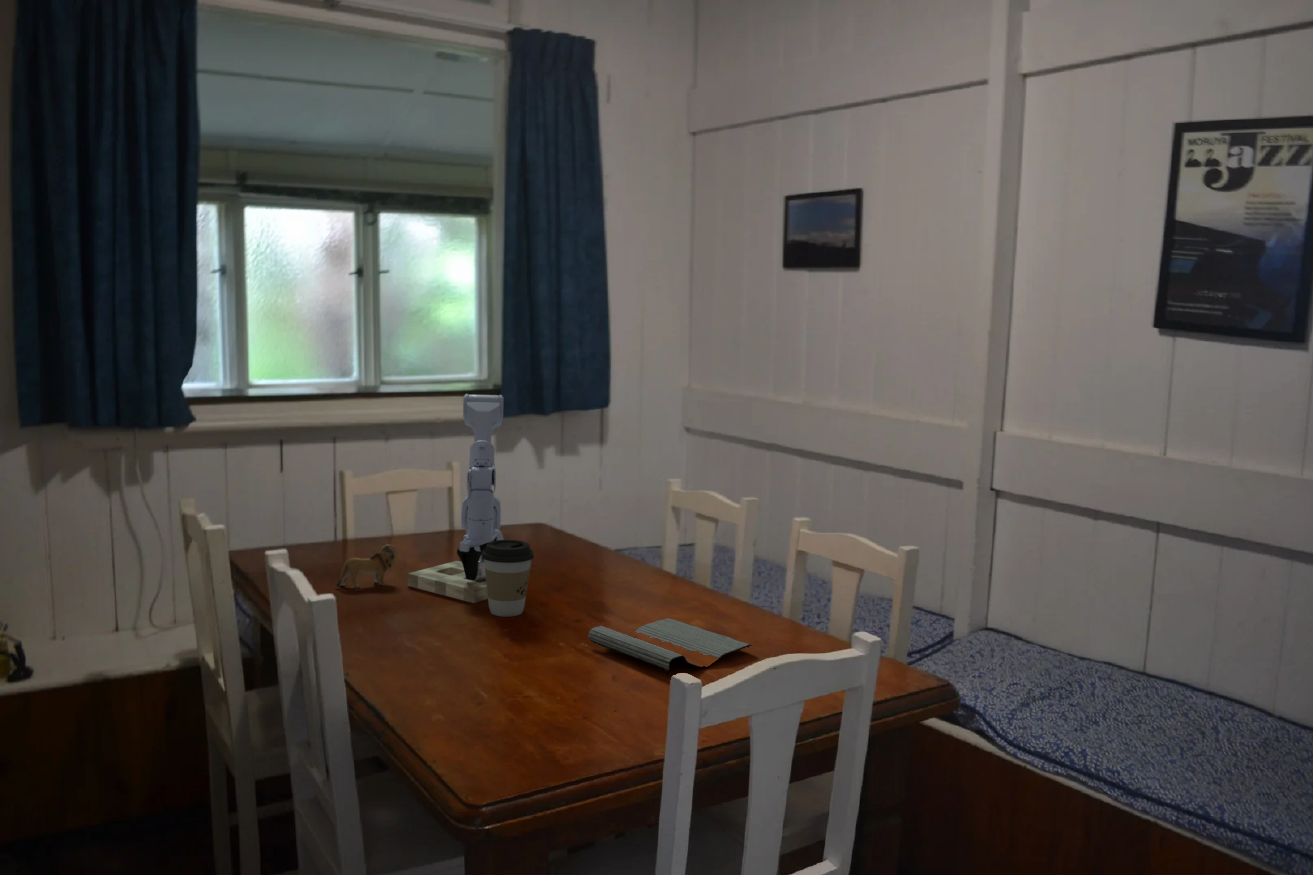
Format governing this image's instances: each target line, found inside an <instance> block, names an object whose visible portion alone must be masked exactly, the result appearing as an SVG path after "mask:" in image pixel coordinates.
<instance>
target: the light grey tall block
mask: <svg viewBox="0 0 1313 875" xmlns="http://www.w3.org/2000/svg"><path fill="white" fill-rule="evenodd" d="M471 581H475V582H479V583H481V582H484V581H486V574H485V565H484V559H479V562H478V567H477V575H476V579H475V580H471Z"/></svg>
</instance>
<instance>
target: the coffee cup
mask: <svg viewBox="0 0 1313 875" xmlns="http://www.w3.org/2000/svg"><path fill="white" fill-rule="evenodd" d="M481 557H482V558H483V559H484V565H485V574H486V584H487V593H488V599H487V601H488V602H487V603H488V608H489V612H490V614H491V615H493V616H496V617H497V616H498V617H503V618H504V617H505V618H507V617H509V618H510V617H516V616H517V617H518V616H520V615H522V614H523V613H524V609H525V604H526V598H527V592H528V584H529V579H530V578H529V577H530V573H531V572H530V571H531V566H532V560H533V559H534V558H535V555H534V551H533V549H531V546H530V543H528V542H527V541H523V540H519V539H518V540H517V539H504V540H496V541H492V542H489V543H488V544H487V545H486V549H484V550H483V551H482V556H481Z"/></svg>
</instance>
